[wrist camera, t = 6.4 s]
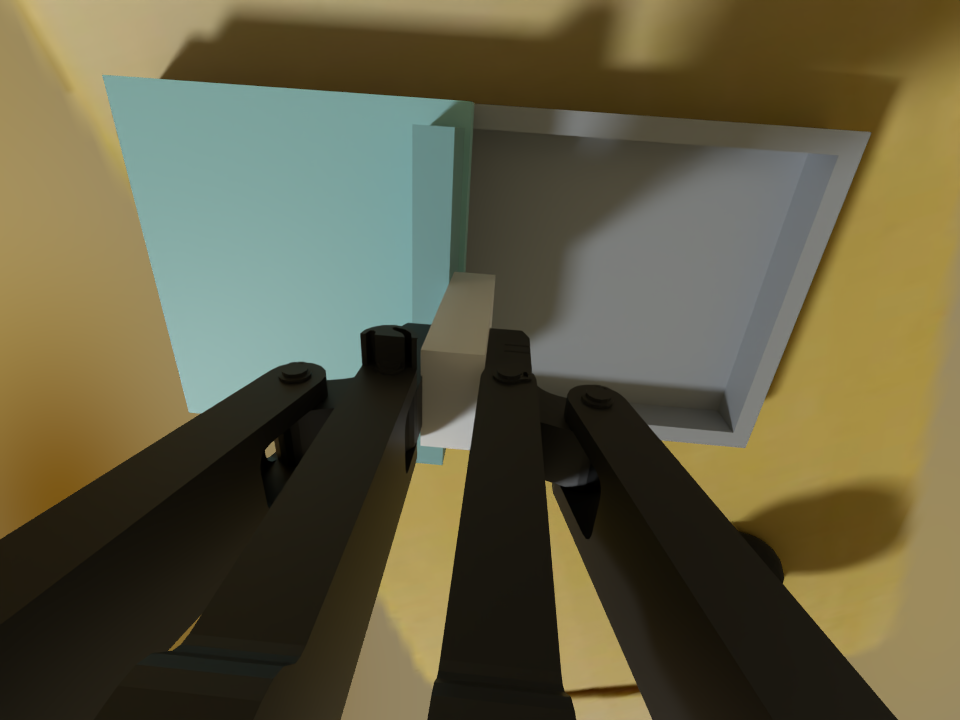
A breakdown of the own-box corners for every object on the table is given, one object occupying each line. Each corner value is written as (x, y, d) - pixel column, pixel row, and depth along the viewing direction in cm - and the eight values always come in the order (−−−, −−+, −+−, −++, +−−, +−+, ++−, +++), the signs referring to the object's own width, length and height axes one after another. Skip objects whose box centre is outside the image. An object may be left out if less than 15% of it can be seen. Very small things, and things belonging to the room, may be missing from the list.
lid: (124, 77, 17) (17, 62, 13) (474, 102, 16) (463, 94, 13) (201, 401, 23) (143, 452, 19) (457, 424, 22) (446, 481, 19)
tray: (155, 83, 19) (107, 77, 17) (827, 131, 18) (871, 132, 16) (217, 373, 25) (188, 396, 23) (724, 418, 24) (745, 448, 22)
